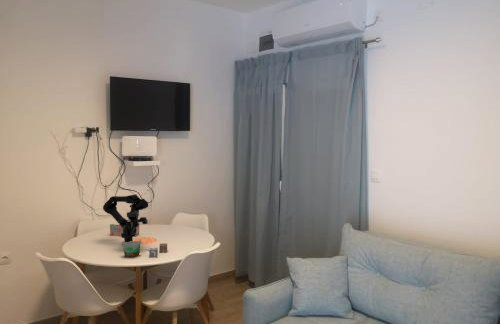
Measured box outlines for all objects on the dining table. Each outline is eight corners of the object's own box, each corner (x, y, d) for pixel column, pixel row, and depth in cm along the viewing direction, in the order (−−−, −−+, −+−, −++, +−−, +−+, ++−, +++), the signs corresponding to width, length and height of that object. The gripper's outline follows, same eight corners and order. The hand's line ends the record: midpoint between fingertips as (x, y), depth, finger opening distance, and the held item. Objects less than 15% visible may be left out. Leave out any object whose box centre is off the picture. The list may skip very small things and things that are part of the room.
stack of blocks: (109, 235, 288) (109, 220, 287) (113, 233, 295) (113, 218, 294) (136, 237, 286) (136, 221, 285) (139, 235, 292) (139, 219, 292)
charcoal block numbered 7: (149, 255, 245) (149, 247, 245) (157, 254, 246) (157, 247, 246) (149, 257, 240) (149, 250, 240) (157, 257, 241) (157, 249, 241)
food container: (121, 258, 237) (121, 243, 237) (122, 255, 243) (122, 240, 243) (141, 257, 240) (141, 242, 239) (141, 254, 246) (141, 239, 245)
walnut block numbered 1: (159, 250, 255) (159, 243, 255) (167, 250, 256) (167, 243, 256) (159, 253, 250) (159, 245, 250) (166, 252, 251) (167, 245, 251)
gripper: (117, 207, 252) (113, 228, 243) (144, 206, 251) (141, 227, 243) (122, 214, 261) (119, 235, 252) (149, 213, 261) (146, 233, 252)
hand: (131, 232), depth 250 cm, fingers closed
